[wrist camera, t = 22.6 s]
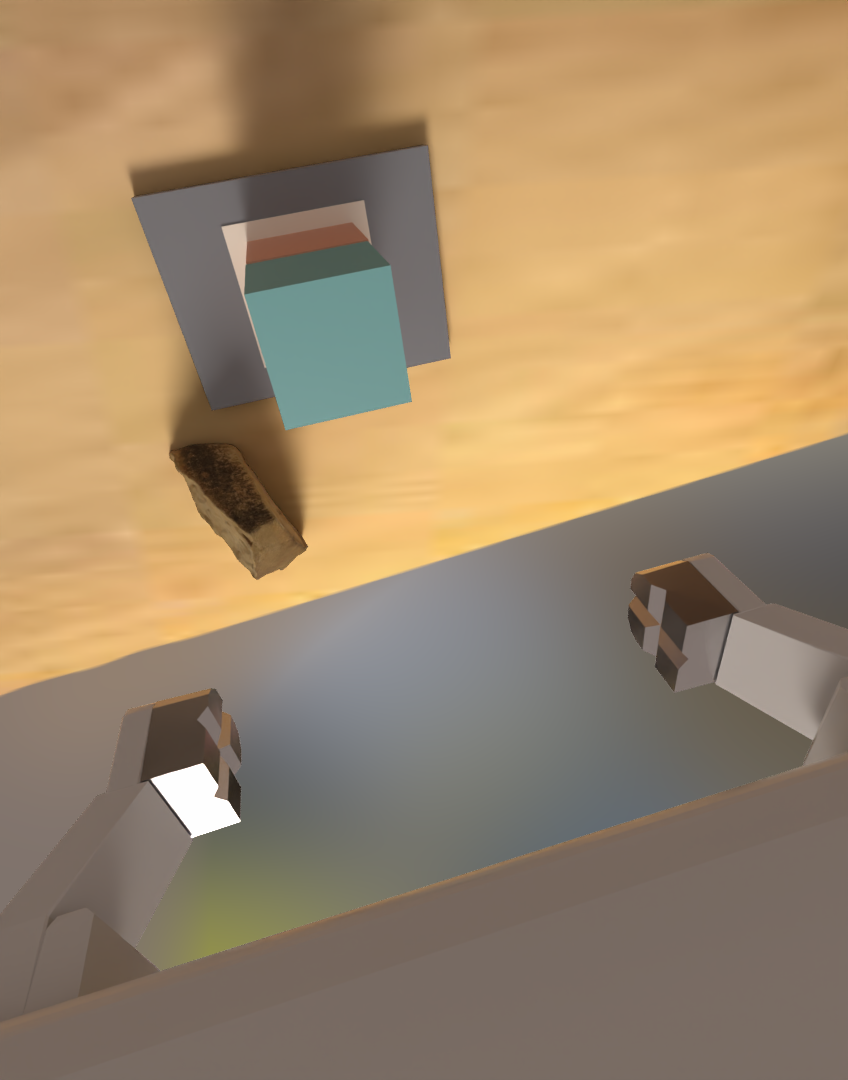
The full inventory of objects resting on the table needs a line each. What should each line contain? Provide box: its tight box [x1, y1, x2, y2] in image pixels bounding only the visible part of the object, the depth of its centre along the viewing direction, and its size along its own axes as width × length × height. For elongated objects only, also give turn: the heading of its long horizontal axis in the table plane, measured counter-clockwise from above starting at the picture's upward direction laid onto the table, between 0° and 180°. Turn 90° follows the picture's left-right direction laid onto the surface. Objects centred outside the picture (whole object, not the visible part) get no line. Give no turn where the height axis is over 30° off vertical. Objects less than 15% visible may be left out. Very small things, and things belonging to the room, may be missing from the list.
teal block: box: [244, 241, 412, 430], centre depth 28 cm, size 6×6×6 cm
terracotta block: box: [246, 222, 369, 265], centre depth 33 cm, size 6×6×6 cm
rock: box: [169, 444, 308, 580], centre depth 41 cm, size 11×9×10 cm
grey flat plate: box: [131, 145, 451, 410], centre depth 35 cm, size 16×12×1 cm
